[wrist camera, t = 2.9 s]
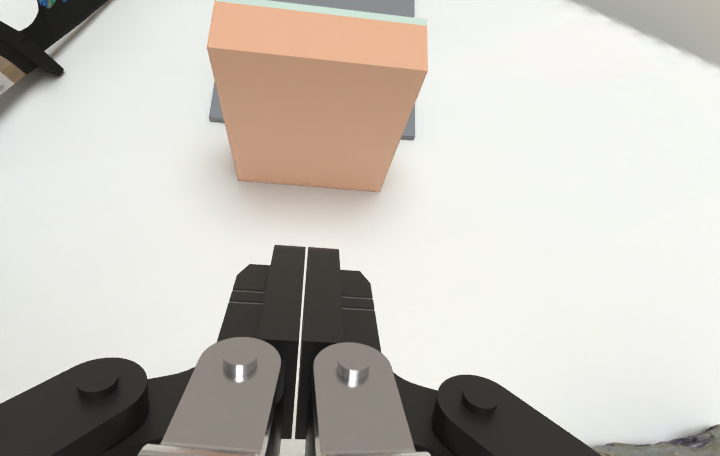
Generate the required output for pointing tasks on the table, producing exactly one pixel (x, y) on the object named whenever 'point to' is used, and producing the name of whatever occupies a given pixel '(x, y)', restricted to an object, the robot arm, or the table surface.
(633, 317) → the table surface
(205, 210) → the table surface
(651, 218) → the table surface
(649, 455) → the mineral rock
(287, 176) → the tile
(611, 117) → the table surface
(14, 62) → the knife
